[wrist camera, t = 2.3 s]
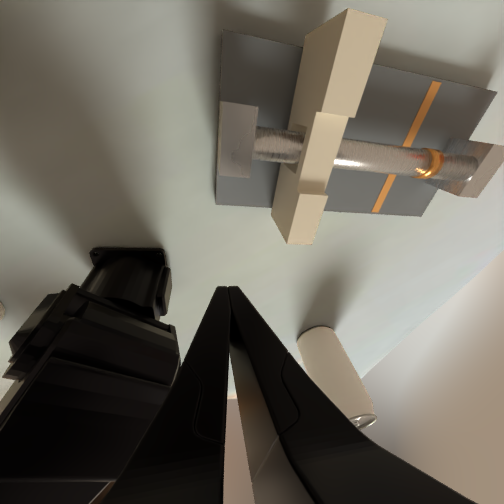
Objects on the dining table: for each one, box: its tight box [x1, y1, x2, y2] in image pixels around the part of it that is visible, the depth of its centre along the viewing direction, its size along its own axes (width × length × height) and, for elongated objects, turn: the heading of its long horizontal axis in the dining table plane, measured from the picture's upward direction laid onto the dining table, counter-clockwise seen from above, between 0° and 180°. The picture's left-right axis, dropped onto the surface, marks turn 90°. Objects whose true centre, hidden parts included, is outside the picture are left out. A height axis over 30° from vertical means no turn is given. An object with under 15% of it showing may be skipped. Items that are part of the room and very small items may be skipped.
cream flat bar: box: [271, 8, 388, 245], centre depth 15 cm, size 2×12×5 cm, turn 172°
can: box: [297, 326, 377, 430], centre depth 31 cm, size 6×6×12 cm
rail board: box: [215, 30, 497, 217], centre depth 19 cm, size 22×11×1 cm, turn 82°
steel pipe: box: [217, 101, 504, 198], centre depth 17 cm, size 22×4×4 cm, turn 82°
